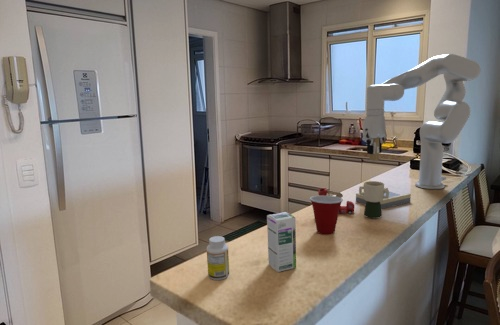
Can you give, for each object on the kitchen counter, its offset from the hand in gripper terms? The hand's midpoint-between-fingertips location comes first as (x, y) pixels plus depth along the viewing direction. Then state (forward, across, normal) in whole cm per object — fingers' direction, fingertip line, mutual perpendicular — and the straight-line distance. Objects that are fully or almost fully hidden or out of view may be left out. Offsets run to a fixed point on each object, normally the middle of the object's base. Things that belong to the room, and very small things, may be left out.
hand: (374, 152), depth 163 cm
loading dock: (+18, +9, +13) cm, 24 cm away
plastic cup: (+18, +51, +27) cm, 60 cm away
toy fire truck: (+18, +35, +14) cm, 42 cm away
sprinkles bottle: (+4, 0, 0) cm, 4 cm away
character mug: (+19, +27, +25) cm, 41 cm away
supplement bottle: (+18, +94, +36) cm, 102 cm away
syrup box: (+18, +77, +40) cm, 88 cm away
